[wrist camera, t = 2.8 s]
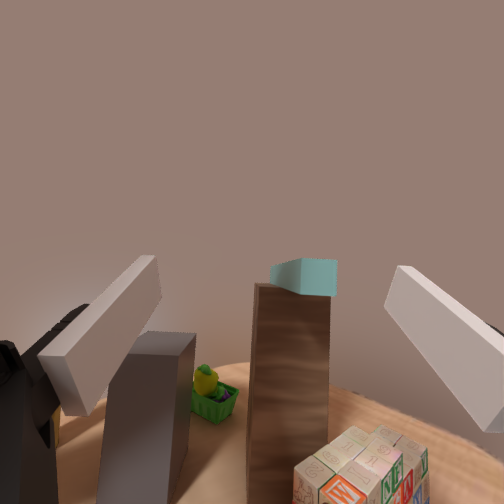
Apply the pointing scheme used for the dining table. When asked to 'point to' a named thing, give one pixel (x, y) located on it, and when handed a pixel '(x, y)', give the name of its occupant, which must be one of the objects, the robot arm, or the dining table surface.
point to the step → (147, 420)
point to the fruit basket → (211, 395)
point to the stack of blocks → (364, 470)
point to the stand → (285, 389)
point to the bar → (306, 276)
